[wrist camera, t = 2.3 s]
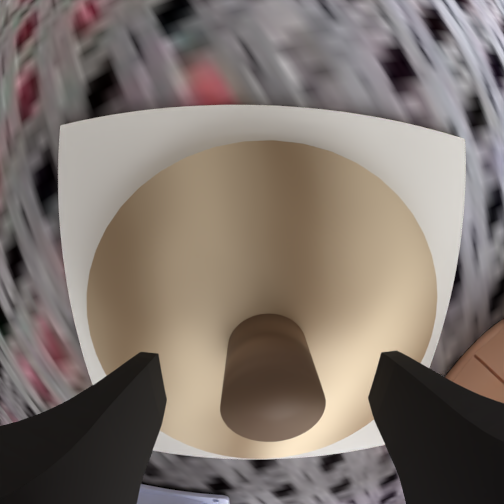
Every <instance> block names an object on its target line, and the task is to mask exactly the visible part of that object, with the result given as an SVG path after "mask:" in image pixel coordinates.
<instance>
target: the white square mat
mask: <svg viewBox="0 0 504 504" xmlns="http://www.w3.org/2000/svg"><path fill="white" fill-rule="evenodd" d="M266 140H276V141H285V142H294V143H302V144H306V145H310V146H314V147H317V148H321V149H325V150H328V151H331V152H334V153H336V154H338V155H340V156H343V157H345V158H347V159H349V160H351V161H354V162H356V163H357V164H359V165H361V166H362V167H364V168H365V169H367V170H368V171H370V172H371V173H373V174H374V175H376V176H377V177H379V178H380V179H381V180H382V181H383V182H384V183H385V184H386V185H388V186H389V187H390V188H391V189H392V190H393V191H394V192H395V193H396V194H397V195H398V196H399V197H400V198H401V200H402V201H403V202H404V203H405V205H406V206H407V207H408V209H409V210H410V211H411V212H412V214H413V215H414V217H415V219H416V221H417V222H418V224H419V226H420V228H421V229H422V231H423V233H424V235H425V238H426V241H427V243H428V246H429V249H430V251H431V254H432V258H433V263H434V267H435V272H436V281H437V309H436V318H435V323H434V328H433V332H432V336H431V339H430V342H429V345H428V348H427V350H426V353H425V355H424V357H423V359H422V361H421V364H423V365H424V366H426V367H428V368H430V365H431V362H432V359H433V356H434V354H435V350H436V347H437V344H438V341H439V338H440V335H441V331H442V328H443V324H444V321H445V317H446V313H447V309H448V305H449V301H450V297H451V292H452V288H453V283H454V278H455V273H456V267H457V261H458V255H459V248H460V241H461V233H462V224H463V213H464V200H465V173H466V157H465V139H463V138H460V137H456V136H453V135H450V134H446V133H443V132H439V131H436V130H432V129H428V128H424V127H420V126H416V125H412V124H408V123H403V122H399V121H394V120H389V119H384V118H378V117H373V116H367V115H361V114H354V113H348V112H340V111H332V110H324V109H314V108H303V107H289V106H271V105H203V106H184V107H171V108H160V109H151V110H142V111H134V112H127V113H120V114H114V115H108V116H102V117H97V118H92V119H86V120H82V121H77V122H72V123H68V124H64V125H60V137H59V156H58V201H59V220H60V233H61V244H62V253H63V261H64V268H65V275H66V281H67V287H68V293H69V298H70V303H71V308H72V313H73V317H74V322H75V326H76V330H77V334H78V338H79V342H80V346H81V349H82V353H83V356H84V360H85V363H86V366H87V369H88V373H89V376H90V379H91V382H92V385H94V384H96V383H97V382H99V381H100V380H101V379H103V378H104V377H106V376H107V375H106V374H105V372H104V370H103V368H102V366H101V364H100V362H99V360H98V357H97V355H96V352H95V349H94V346H93V343H92V340H91V336H90V331H89V325H88V319H87V286H88V279H89V272H90V268H91V265H92V261H93V258H94V255H95V251H96V249H97V247H98V244H99V242H100V240H101V238H102V236H103V234H104V232H105V230H106V228H107V226H108V225H109V223H110V222H111V220H112V219H113V217H114V216H115V215H116V213H117V212H118V210H119V209H120V207H121V206H122V205H123V204H124V203H125V202H126V201H127V200H128V199H129V198H130V197H131V196H132V195H133V194H134V192H135V191H136V190H137V189H138V188H140V187H141V186H142V185H143V184H145V183H146V182H147V181H148V180H150V179H151V178H152V177H154V176H155V175H156V174H158V173H159V172H160V171H162V170H164V169H165V168H167V167H169V166H171V165H173V164H175V163H176V162H178V161H180V160H182V159H184V158H186V157H188V156H191V155H194V154H196V153H199V152H202V151H205V150H207V149H210V148H213V147H218V146H222V145H227V144H233V143H238V142H243V141H266ZM381 445H385V443H384V441H383V439H382V436H381V434H380V432H379V430H378V428H377V425H376V423H375V421H374V420H373V421H371V422H370V423H369V424H367V425H366V426H365V427H363V428H361V429H360V430H358V431H357V432H355V433H353V434H352V435H350V436H348V437H346V438H344V439H342V440H340V441H338V442H336V443H334V444H331V445H329V446H326V447H323V448H320V449H318V450H315V451H311V452H307V453H303V454H299V455H294V456H288V457H281V458H269V459H286V458H301V457H312V456H322V455H330V454H337V453H344V452H350V451H356V450H362V449H367V448H372V447H377V446H381ZM153 451H158V452H165V453H171V454H179V455H187V456H196V457H208V458H223V459H248V458H236V457H229V456H223V455H218V454H214V453H210V452H206V451H203V450H200V449H197V448H194V447H192V446H189V445H186V444H184V443H182V442H180V441H178V440H176V439H174V438H172V437H170V436H168V435H166V434H165V433H163V432H161V431H159V434H158V437H157V440H156V442H155V445H154V448H153Z"/></svg>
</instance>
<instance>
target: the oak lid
mask: <svg viewBox="0 0 504 504" xmlns="http://www.w3.org/2000/svg"><path fill="white" fill-rule="evenodd" d="M436 309H437V281H436V272H435V267H434V263H433V258H432V254H431V251H430V249H429V246H428V243H427V241H426V238H425V235H424V233H423V231H422V229H421V228H420V226H419V224H418V222H417V221H416V219H415V217H414V215H413V214H412V212H411V211H410V210H409V209H408V207H407V206H406V205H405V203H404V202H403V201H402V200H401V198H400V197H399V196H398V195H397V194H396V193H395V192H394V191H393V190H392V189H391V188H390V187H389V186H388V185H386V184H385V183H384V182H383V181H382V180H381V179H380V178H379V177H377V176H376V175H374V174H373V173H371V172H370V171H368V170H367V169H365V168H364V167H362V166H361V165H359V164H357V163H356V162H354V161H351V160H349V159H347V158H345V157H343V156H340V155H338V154H336V153H334V152H331V151H328V150H325V149H321V148H317V147H314V146H310V145H306V144H302V143H294V142H285V141H276V140H266V141H243V142H238V143H233V144H227V145H222V146H218V147H213V148H210V149H207V150H205V151H202V152H199V153H196V154H194V155H191V156H188V157H186V158H184V159H182V160H180V161H178V162H176V163H175V164H173V165H171V166H169V167H167V168H165V169H164V170H162V171H160V172H159V173H158V174H156V175H155V176H154V177H152V178H151V179H150V180H148V181H147V182H146V183H145V184H143V185H142V186H141V187H140V188H138V189H137V190H136V191H135V192H134V194H133V195H132V196H131V197H130V198H129V199H128V200H127V201H126V202H125V203H124V204H123V205H122V206H121V207H120V209H119V210H118V212H117V213H116V215H115V216H114V217H113V219H112V220H111V222H110V223H109V225H108V226H107V228H106V230H105V232H104V234H103V236H102V238H101V240H100V242H99V244H98V247H97V249H96V251H95V255H94V258H93V261H92V265H91V268H90V272H89V279H88V286H87V319H88V325H89V331H90V336H91V340H92V343H93V346H94V349H95V352H96V355H97V357H98V360H99V362H100V364H101V366H102V368H103V370H104V372H105V374H106V375H109V374H110V373H111V372H113V371H114V370H116V369H117V368H118V367H120V366H121V365H122V364H124V363H125V362H127V361H128V360H129V359H131V358H132V357H134V356H135V355H136V354H138V353H140V352H148V353H158V354H159V360H160V366H161V372H162V377H163V382H164V388H165V393H166V397H167V403H166V408H165V413H164V417H163V422H162V426H161V429H160V431H161V432H163V433H165V434H166V435H168V436H170V437H172V438H174V439H176V440H178V441H180V442H182V443H184V444H186V445H189V446H192V447H194V448H197V449H200V450H203V451H206V452H210V453H214V454H218V455H223V456H229V457H236V458H248V459H269V458H281V457H288V456H294V455H299V454H303V453H307V452H311V451H315V450H318V449H320V448H323V447H326V446H329V445H331V444H334V443H336V442H338V441H340V440H342V439H344V438H346V437H348V436H350V435H352V434H353V433H355V432H357V431H358V430H360V429H361V428H363V427H365V426H366V425H367V424H369V423H370V422H371V421H373V420H374V417H373V414H372V411H371V407H370V404H369V400H368V396H369V393H370V389H371V386H372V383H373V380H374V376H375V373H376V370H377V366H378V363H379V359H380V355H381V352H389V351H399V352H401V353H403V354H405V355H407V356H409V357H410V358H412V359H414V360H416V361H417V362H419V363H421V361H422V359H423V357H424V355H425V353H426V350H427V348H428V345H429V342H430V339H431V336H432V332H433V328H434V323H435V318H436Z"/></svg>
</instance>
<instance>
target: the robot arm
mask: <svg viewBox="0 0 504 504" xmlns="http://www.w3.org/2000/svg"><path fill="white" fill-rule="evenodd" d="M368 400H369V404H370V407H371V411H372V414H373V417H374V421H375V423H376V425H377V428H378V430H379V432H380V434H381V436H382V439H383V441H384V443H385V445H386V447H387V450H388V452H389V454H390V456H391V458H392V461H393V463H394V465H395V467H396V470H397V473H398V475H399V478H400V481H401V485H402V489H403V493H404V496H405V501H406V504H504V403H501V402H498V401H495V400H493V399H490V398H487V397H485V396H482V395H479V394H477V393H475V392H472V391H470V390H468V389H466V388H464V387H462V386H460V385H458V384H456V383H454V382H452V381H451V380H449V379H447V378H445V377H443V376H441V375H440V374H438V373H436V372H434V371H433V370H431V369H429V368H428V367H426V366H424V365H423V364H421V363H419V362H417V361H416V360H414V359H412V358H410V357H409V356H407V355H405V354H403V353H401V352H399V351H389V352H381V355H380V359H379V363H378V366H377V370H376V373H375V376H374V380H373V383H372V386H371V389H370V393H369V396H368ZM166 403H167V397H166V393H165V388H164V382H163V377H162V372H161V366H160V360H159V354H158V353H148V352H140V353H138V354H136V355H135V356H134V357H132V358H131V359H129V360H128V361H127V362H125V363H124V364H122V365H121V366H120V367H118V368H117V369H116V370H114V371H113V372H111V373H110V374H109V375H107V376H106V377H104V378H103V379H101V380H100V381H99V382H97V383H96V384H94V385H92V386H91V387H89V388H88V389H86V390H84V391H83V392H81V393H80V394H78V395H76V396H75V397H73V398H71V399H70V400H68V401H66V402H64V403H62V404H60V405H58V406H56V407H54V408H52V409H50V410H47V411H45V412H43V413H40V414H38V415H35V416H32V417H29V418H27V419H24V420H21V421H18V422H15V423H11V424H7V425H3V426H0V504H230V502H229V497H228V496H225V495H216V494H203V493H194V492H186V491H178V490H172V489H166V488H160V487H155V486H149V485H145V484H141V482H142V479H143V476H144V473H145V470H146V467H147V464H148V462H149V459H150V456H151V453H152V451H153V448H154V445H155V442H156V440H157V437H158V434H159V431H160V429H161V426H162V422H163V417H164V413H165V408H166Z"/></svg>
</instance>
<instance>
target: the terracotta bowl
mask: <svg viewBox="0 0 504 504" xmlns="http://www.w3.org/2000/svg"><path fill="white" fill-rule="evenodd" d="M445 378H447V379H449V380H451V381H452V382H454V383H456V384H458V385H460V386H462V387H464V388H466V389H468V390H470V391H472V392H475V393H477V394H479V395H482V396H485V397H487V398H490V399H493V400H495V401H498V402H501V403H504V319H503V320H501V321H500V322H498V323H497V324H495V325H494V326H493V327H491V328H490V329H489V330H488V331H487V332H485V333H484V334H483V335H482V336H481V337H480V338H479V339H478V340H477V341H476V342H475V343H474V344H473V345H472V346H471V347H470V348H469V349H468V350H467V351H466V352H465V353H464V355H463V356H462V357H461V358H460V359H459V360H458V361H457V363H456V364H455V365H454V366H453V367H452V369H451V370H450V371H449V372H448V374H447V375H446V376H445Z"/></svg>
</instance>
